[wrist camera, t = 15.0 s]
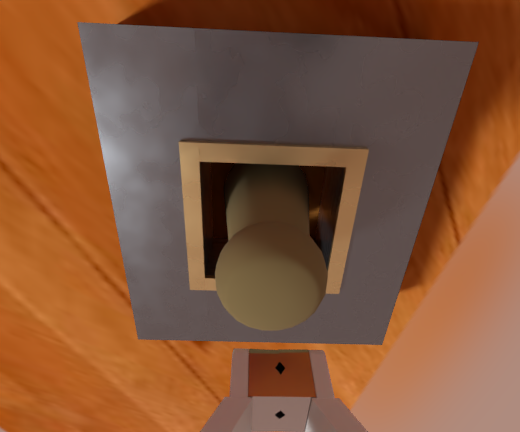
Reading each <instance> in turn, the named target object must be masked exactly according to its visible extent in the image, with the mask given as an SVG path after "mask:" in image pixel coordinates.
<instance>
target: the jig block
mask: <svg viewBox="0 0 520 432" xmlns="http://www.w3.org/2000/svg"><path fill="white" fill-rule="evenodd" d="M78 27H79V33H80V38H81V43H82V48H83V54H84V59H85V64H86V69H87V74H88V80H89V85H90V90H91V95H92V100H93V106H94V111H95V116H96V121H97V127H98V132H99V137H100V142H101V147H102V153H103V158H104V163H105V168H106V173H107V179H108V184H109V189H110V194H111V200H112V205H113V210H114V215H115V220H116V226H117V231H118V236H119V241H120V247H121V252H122V257H123V262H124V267H125V273H126V278H127V283H128V288H129V293H130V299H131V304H132V309H133V314H134V320H135V325H136V330H137V335H138V339H147V340H192V341H236V342H281V343H326V344H370V345H382V343H383V340H384V337H385V334H386V331H387V328H388V324H389V321H390V318H391V315H392V312H393V309H394V306H395V303H396V299H397V296H398V293H399V290H400V287H401V284H402V281H403V278H404V274H405V271H406V268H407V265H408V262H409V259H410V256H411V253H412V249H413V246H414V243H415V240H416V237H417V234H418V231H419V227H420V224H421V221H422V218H423V215H424V212H425V209H426V206H427V202H428V199H429V196H430V193H431V190H432V187H433V184H434V181H435V177H436V174H437V171H438V168H439V165H440V162H441V159H442V156H443V152H444V149H445V146H446V143H447V140H448V137H449V134H450V131H451V127H452V124H453V121H454V118H455V115H456V112H457V109H458V106H459V102H460V99H461V96H462V93H463V90H464V87H465V84H466V81H467V77H468V74H469V71H470V68H471V65H472V62H473V59H474V56H475V52H476V49H477V46H478V43H479V42H464V41H443V40H423V39H403V38H383V37H363V36H342V35H322V34H302V33H282V32H262V31H242V30H221V29H201V28H181V27H161V26H141V25H120V24H100V23H80V22H78ZM211 162H223V163H250V164H276V165H302V166H326V167H325V174H324V181H323V188H322V195H321V201H320V208H319V215H318V222H317V229H316V236H315V241H314V242H315V243H316V245H317V246H318V247H319V249H320V250H321V251H322V254H323V257H324V260H325V264H326V268H327V272H328V279H327V287H326V294H325V296H324V298H323V300H322V301H321V303H320V305H319V307H318V308H317V310H316V311H315V313H314V314H312V315H311V316H310V317H309V318H308V319H307V320H306V321H304V322H302V323H300V324H298V325H296V326H294V327H292V328H287V329H283V330H278V331H266V330H259V329H255V328H251V327H248V326H246V325H244V324H242V323H240V322H238V321H237V320H236V319H235V318H234V317H233V316H232V315H231V314H230V313H229V312H228V311H227V310H226V309H225V308H224V306H223V305H222V303H221V301H220V298H219V296H218V294H217V290H216V281H215V270H216V265H217V262H218V259H219V256H220V253H221V251H222V249H223V248H224V246H225V245H226V243H227V242H228V241H229V240H228V238H213V209H212V174H211Z"/></svg>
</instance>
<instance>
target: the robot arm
mask: <svg viewBox="0 0 520 432" xmlns="http://www.w3.org/2000/svg"><path fill="white" fill-rule="evenodd" d="M267 431H283V432H368V431H367V430H366V429H365V428H364V427H363V426H362V424H361V423H360V422H359V421H358V420H357V419H356V417H355V416H354V415H353V414H352V413H351V412H350V410H349V409H348V408H347V407H346V406H345V405H344V403H343V402H342V401H341V400H340V399H339V398H334V393H333V388H332V384H331V379H330V375H329V370H328V365H327V361H326V356H325V353H324V351H323V350H260V349H233V354H232V369H231V383H230V397H225V398H224V399H223V400H222V402H221V403H220V405H219V406H218V407H217V409H216V410H215V412H214V413H213V414H212V416H211V417H210V419H209V420H208V421H207V423H206V424H205V425H204V427H203V428H202V430H201V431H200V432H267Z"/></svg>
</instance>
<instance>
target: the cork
mask: <svg viewBox="0 0 520 432" xmlns="http://www.w3.org/2000/svg"><path fill="white" fill-rule="evenodd" d="M224 199H225V210H226V220H227V230H228V240H229V241H228V242H227V243H226V245H225V246H224V248H223V249H222V251H221V253H220V256H219V259H218V262H217V265H216V270H215V281H216V290H217V294H218V296H219V298H220V301H221V303H222V305H223V306H224V308H225V309H226V310H227V311H228V312H229V313H230V314H231V315H232V316H233V317H234V318H235V319H236V320H237V321H238V322H240V323H242V324H244V325H246V326H248V327H251V328H255V329H259V330H266V331H278V330H283V329H287V328H292V327H294V326H296V325H298V324H300V323H302V322H304V321H306V320H307V319H308V318H309V317H310V316H311V315H312V314H314V313H315V311H316V310H317V308H318V307H319V305H320V303H321V301H322V300H323V298H324V296H325V294H326V287H327V279H328V272H327V268H326V264H325V260H324V257H323V254H322V251H321V250H320V249H319V247H318V246H317V245H316V243H315V242H314V241H313V239H312V238H311V237H310V236H309V187H308V183H307V179H306V176H305V174H304V173H303V171H302V170H301V168H300V167H299V165H276V164H250V163H236V164H235V165H234V167H233V168H232V169H231V171H230V172H229V173H228V175H227V178H226V181H225V185H224Z"/></svg>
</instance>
